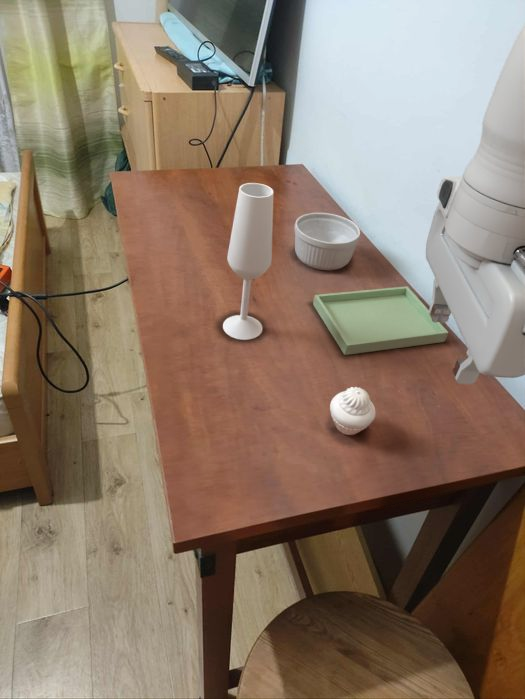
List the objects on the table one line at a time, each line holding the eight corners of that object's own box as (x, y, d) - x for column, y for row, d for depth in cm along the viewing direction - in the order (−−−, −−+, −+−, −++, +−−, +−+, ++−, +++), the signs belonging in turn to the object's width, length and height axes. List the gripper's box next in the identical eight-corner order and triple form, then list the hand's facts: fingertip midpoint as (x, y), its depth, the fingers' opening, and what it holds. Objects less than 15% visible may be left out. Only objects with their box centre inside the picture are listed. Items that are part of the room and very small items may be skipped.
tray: (404, 295, 98) (407, 286, 97) (444, 341, 88) (448, 332, 87) (312, 304, 93) (314, 294, 91) (344, 355, 83) (347, 345, 81)
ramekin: (277, 250, 106) (281, 219, 102) (322, 236, 113) (328, 206, 109) (321, 281, 99) (327, 249, 94) (366, 263, 106) (374, 233, 101)
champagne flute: (264, 317, 88) (281, 183, 72) (260, 342, 83) (279, 203, 67) (225, 312, 88) (235, 177, 72) (219, 336, 83) (228, 196, 67)
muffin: (320, 411, 73) (329, 375, 68) (360, 408, 74) (372, 373, 69) (332, 445, 68) (343, 410, 64) (375, 442, 69) (388, 407, 65)
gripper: (602, 294, 35) (517, 427, 44) (498, 177, 50) (451, 293, 59) (512, 286, 34) (445, 422, 43) (436, 171, 50) (398, 288, 59)
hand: (448, 346), depth 52 cm, fingers open, 8 cm apart
